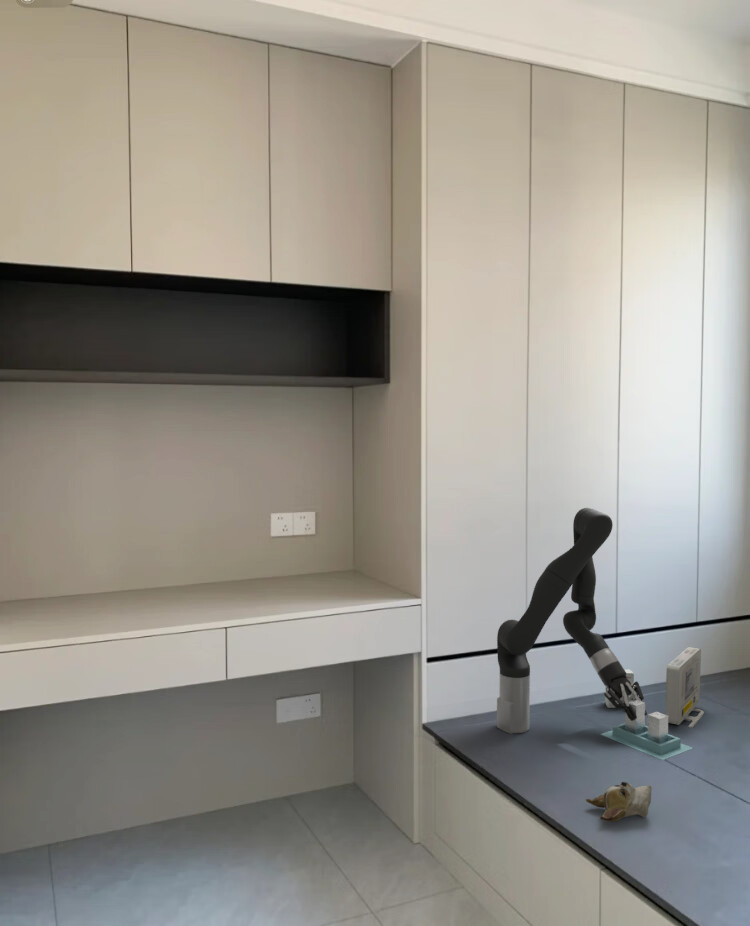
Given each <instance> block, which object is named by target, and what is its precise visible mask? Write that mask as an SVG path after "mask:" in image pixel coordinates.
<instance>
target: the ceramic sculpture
mask: <svg viewBox="0 0 750 926" xmlns="http://www.w3.org/2000/svg"><path fill="white" fill-rule="evenodd" d="M585 801H586V802H587V803H589V804H590V805H593V807H597V808H602V809H603V808H605V811H604V812H603V813H602V815H601V816H600V817H599V819H600V820H602V821H607V822H611V823H613V822H617V821H620V819H623V818H627V817H630V816H635V815H638V816H640V817H642V818H645V817H647V816H648V814H649V807H650V805H651V802H652V785H651V784H650V785H649V784H648V785H643V786H642V785H641V786H640V785H639V786H638V787H635V788H634V787H633V785H632V784H630V783H628V782H626V781H621V782H620V785H618V784H617V785H613V786H612V785H611V786H609V787H608V788H607V789H606V790H605V792H604V794H600V795H598V797H595V798H593V799H591V798H587V799H585Z"/></svg>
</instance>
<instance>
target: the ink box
mask: <svg viewBox="0 0 750 926" xmlns="http://www.w3.org/2000/svg"><path fill="white" fill-rule="evenodd" d="M623 669H624V670H625V672H626V678H627V679H628V680H629V681H630V682H631V683H635V681H634V680H635V674H634V672H633V671H632V669H628V668H627V669H626V668H623ZM608 690H609V689H608V686H605V692H607V691H608ZM631 695H632V693H631ZM631 695H629V696H631ZM604 697H605V696H604ZM633 699H635V698H633ZM604 700H605V705H606V707H607V708H608V709H611V708H612V709H617V708H616V707H615V706H614V705H613V704H612V703H611V702H610V701H609V700H608V699H607V698H606V697H605V699H604ZM615 702H616V703H617V704H619V703H618V702H617V701H615ZM623 703H624V702H623Z"/></svg>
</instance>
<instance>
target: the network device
mask: <svg viewBox="0 0 750 926" xmlns="http://www.w3.org/2000/svg"><path fill="white" fill-rule="evenodd" d="M701 658H702V650H701V648H695V647H689V646H688V647H687V648H685V650H682V652H681V653H680V654H679V655H678V656H676V657H675V658H673V660H672V661H671V662H669V663H668V664H667V666H666V676H665V677H666V679H665V681H666V682H665V684H666V685H665V715H667V716H668V724H672V725H673V724H674V725H677V726H679V725H681V723H682V722H683V721H688V722H691V723H689V725H688V727H689V728H694V727H695V725H696V724H697V723H698V722H699V721H700V719H701V718H702V717H703V716H704V713H705V711H703V710H702V709H700V708H696V707H697V705H698V704H699V703H700V697H701V666H702V665H701V662H702V659H701ZM691 712H696V713H697V712H698V714H697V716H693V715H692V716H691V715H690V714H691Z"/></svg>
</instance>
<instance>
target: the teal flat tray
mask: <svg viewBox="0 0 750 926" xmlns="http://www.w3.org/2000/svg"><path fill="white" fill-rule="evenodd" d="M647 731H648V725H646V724H645V732H644V733H641V734H638V735H636V734H633V733H631V732H628V731H626V730H625V722H623V723H621V724H617V725H614V726H612V730H609V731H606V732H602V733H600V736H603V737H606V738H608V739H611V740H613V741H615V742H618V743H621V744H623V745H625V746H628V747H629V748H632V749H634V750H637V751H639V752H642V753H644V754H646V755H649V756H651V757H655V758H657V759H659V760H662V761H664V760H667V759H669V758H672V757H674V756H676V755H680V754H682V753H685V752H688V751H691V750H692V749H694V748H693V747H691V746H689V745H686V744H685V743H684V744H683V743H682V741H681V740H682V739H681V738H680V737H677V736H674V735H672V734H669V733H668V741H667V742H664V743H662V744H659V743H656V742H654V741H651V740H649V739H647Z"/></svg>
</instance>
